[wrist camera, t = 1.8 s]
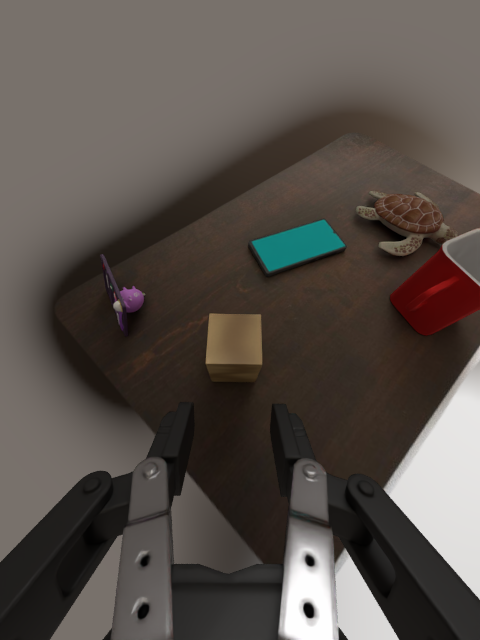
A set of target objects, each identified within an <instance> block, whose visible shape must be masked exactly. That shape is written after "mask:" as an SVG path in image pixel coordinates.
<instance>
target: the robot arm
mask: <svg viewBox="0 0 480 640" xmlns="http://www.w3.org/2000/svg"><path fill="white" fill-rule="evenodd" d="M194 427H195V423H194V403H193V402H180V403H179V405H178V408H177V411H176V412H169V413H168V414H167V415H166V416H165V417H164V418H163V419H162V422H161V424H160V427H159V429H158V431H157V434H156V436H155V438H154V441H153V443H152V446H151V448H150V451H149V453H148V455H147V458H146V459H145V460H143V461H142V462H140V463H139V464H138V465H137V466H136V468H135V469H134V471H133V472H131V473H128V474H125V475H122V476H118V477H115V478H111V475H110V474H109V473H108V472H106V471H96V472H93V473H90V474H88V475H87V476H85V477H83V478H82V479H81V480H80V481H79V482H78V483H77V484H76V485H75V486H74V487H73V488H72V489H71V490H70V491H69V492H68V493H67V494H66V495H65V496H64V497H63V498H62V499H61V500H60V501H59V503H57V504H56V505H55V506H54V507H53V509H52V510H51V511H50V512H49V513H48V514H47V515H46V516H45V517H44V518H43V519H42V520H41V521H40V522H39V523H38V524H37V525H36V526H35V527H34V528H33V529H32V530H31V531H30V532H29V533H28V534H27V535H26V537H25V538H24V539H23V540H22V541H21V542H20V543H19V544H18V545H17V546H16V547H15V548H14V549H13V550H12V551H11V552H10V553H9V554H8V555H7V556H6V557H5V558H4V559H3V560H2V561H1V562H0V640H50V639H51V637H52V635H53V634H54V632H55V631H56V629H57V628H58V626H59V625H60V623H61V622H62V620H63V619H64V617H65V616H66V614H67V613H68V611H69V610H70V608H71V606H72V605H73V603H74V602H75V600H76V599H77V597H78V596H79V594H80V593H81V591H82V590H83V588H84V587H85V585H86V584H87V582H88V581H89V579H90V577H91V576H92V574H93V573H94V571H95V570H96V568H97V566H98V565H99V564H100V562H101V561H102V559H103V558H104V556H105V555H106V553H107V552H108V550H109V548H110V547H111V545H112V544H113V542H114V541H115V539H116V538H117V536H119V535H122V534H123V538H122V547H121V555H120V565H119V573H118V581H117V590H116V599H115V607H114V616H113V625H112V629H111V630H110V631H109V632H108V634H107V635H106V636H105V637H104V639H103V640H348V639H347V638H346V636H345V635H344V633H343V632H342V631H341V629H340V628H339V627H338V617H337V600H336V584H335V566H334V549H333V535H335V536H338V537H339V538H340V540H341V542H342V543H343V545H344V547H345V548H346V550H347V552H348V553H349V555H350V557H351V558H352V560H353V562H354V564H355V565H356V567H357V569H358V570H359V572H360V574H361V575H362V577H363V579H364V580H365V582H366V584H367V586H368V587H369V589H370V590H371V592H372V594H373V596H374V598H375V599H376V601H377V602H378V604H379V606H380V607H381V609H382V611H383V613H384V615H385V616H386V618H387V620H388V621H389V623H390V624H391V626H392V628H393V629H394V632H395V633H396V635H397V637H398V638H399V640H480V600H479V598H478V597H477V596H476V595H475V594H474V593H473V592H472V591H471V589H470V588H469V587H468V586H467V585H466V584H465V583H464V581H463V580H462V579H461V578H460V577H459V576H458V575H457V573H456V572H455V571H454V570H453V569H452V568H451V567H450V565H449V564H448V563H447V562H446V561H445V560H444V559H443V557H442V556H441V555H440V554H439V553H438V552H437V550H436V549H435V548H434V547H433V546H432V545H431V544H430V543H429V541H428V540H427V539H426V538H425V537H424V536H423V535H422V533H421V532H420V531H419V530H418V529H417V528H416V527H415V525H414V524H413V523H412V522H411V521H410V520H409V518H407V516H406V515H405V514H404V513H403V512H402V511H401V509H400V508H399V507H398V506H397V505H396V504H395V503H394V501H393V500H392V499H391V498H390V497H389V496H388V495H387V493H386V492H385V491H384V490H383V489H382V488H381V487H380V485H379V484H378V483H377V482H376V481H374V480H373V479H371V478H370V477H368V476H366V475H362V474H353V475H351V476H350V477H349V478H348V480H345V479H342V478H338V477H335V476H332V475H330V474H328V473H327V472H325V470H324V468H323V467H322V466H321V465H320V464H319V463H318V462H317V461H316V459H315V456H314V453H313V450H312V448H311V445H310V442H309V439H308V437H307V434H306V431H305V429H304V425H303V423H302V420H301V419H300V418H299V417H298V416H297V415H296V414H289V413H288V409H287V406H286V404H272V412H271V424H270V434H271V441H272V447H273V453H274V459H275V465H276V470H277V476H278V482H279V488H280V494H281V497H287V498H288V503H289V507H288V516H287V526H286V536H285V546H284V555H283V564H256V565H253V566H250V567H248V568H245V569H242V570H239V571H236V572H233V573H230V574H226V573H223V572H220V571H217V570H214V569H211V568H208V567H206V566H203V565H200V564H174V558H173V540H172V519H171V506H172V502H173V497H174V496H176V495H177V496H180V495H181V491H182V486H183V482H184V477H185V473H186V468H187V464H188V459H189V455H190V450H191V446H192V441H193V436H194Z"/></svg>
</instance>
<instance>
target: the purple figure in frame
mask: <svg viewBox="0 0 480 640" xmlns="http://www.w3.org/2000/svg"><path fill="white" fill-rule="evenodd" d="M100 257H101V263H102V269H103V275H104V281H105V287H106V290H107V293H108V295H109V298H110V300H111V303H112V305H113V308H114V310H115V313H116V315H117V318H118V323H119V324H120V327H121V329H122V330H123V332H124V335H125V337H126V336H128V326H127V313H126V312H135V311H137V310H138V309H140V308H141V306H142V305H143V302H144V295H145V293H142V292H141V291H139V290H137V289H136V288H135V287H134V286H133V288H132V289H130V290H127V289H126V288H125V287H123V291H121V292H120V291H119V289H118V287H117V284H116V282H115V280H114V277H113V275H112V273H111V271H110V268H109V266H108V264H107V261H106V259H105V257H104V255H103V254H102V255H100ZM114 297H115V298H114ZM122 314H123V321H122ZM123 323H124V324H123Z"/></svg>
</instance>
